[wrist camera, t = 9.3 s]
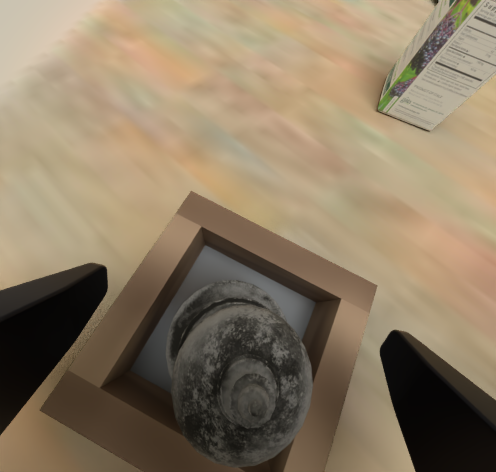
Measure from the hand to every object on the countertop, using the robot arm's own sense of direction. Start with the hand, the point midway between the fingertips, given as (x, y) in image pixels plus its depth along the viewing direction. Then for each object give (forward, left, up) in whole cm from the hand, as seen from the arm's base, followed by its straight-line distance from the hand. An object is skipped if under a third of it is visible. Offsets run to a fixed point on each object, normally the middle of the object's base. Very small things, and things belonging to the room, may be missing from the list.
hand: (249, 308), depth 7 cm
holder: (-1, 0, -9) cm, 9 cm away
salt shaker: (-1, 0, -8) cm, 8 cm away
